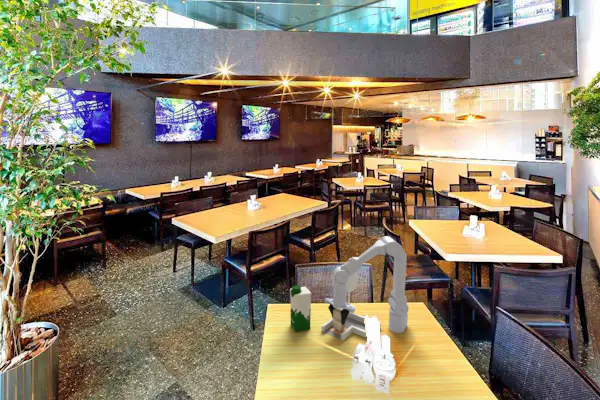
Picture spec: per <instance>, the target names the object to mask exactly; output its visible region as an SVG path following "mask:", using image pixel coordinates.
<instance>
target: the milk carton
mask: <svg viewBox="0 0 600 400" xmlns="http://www.w3.org/2000/svg"><path fill="white" fill-rule="evenodd" d="M289 295H290V298H289V299H290V325H291V327H292V329H293V330H294V332H295V331H296V332H295V333H299V332H303V331H307V330H311V316H312V315H311V310H312V309H311V307H312V306H311V305H312V304H311V303H312V302H311V301H312V292H311V291H310V290H309V289H308V288H307V286H301V285H293V286H291V288H290V289H289Z"/></svg>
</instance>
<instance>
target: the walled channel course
mask: <svg viewBox="0 0 600 400" xmlns="http://www.w3.org/2000/svg"><path fill="white" fill-rule="evenodd" d="M365 317H366V316H363V315H360V314H358V313H355V312H354V313H351V312H349V314H348V316H347V318H346V322H345V328H344V329H343V330H342V331H338V330H336V329H333V318H332V317H331V318H330V319H329V320H327V321H326V322H325V323H324V324H322V325H321V329H320V330H321V332H323V333H325V334H327V335H329V336H332V337H334V338H336V339H338V340H341V341H345V340H346V339H347V338H348V337H349V336H350V335H351V334H352V333H353V334H356V335H358V336H361V337H362V338H364V339H367V338H366V330H365V324H364V319H365ZM381 324H382V323H381V322H380V327H381Z"/></svg>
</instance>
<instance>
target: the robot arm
mask: <svg viewBox="0 0 600 400" xmlns="http://www.w3.org/2000/svg"><path fill="white" fill-rule="evenodd" d="M378 255H382V256H387V255H389V256H391V257H393V273H392V274H393V275H392V276H393V277H392V290H391V291H390V293H389V297H388V299H387V302H388V305H390V307H389V310H388V311H389V313H388V329H389V330H390V331H391V332H393V333H396V334H402V333H404V332H405V331H406V328H407V327H408V316H409V314H408V313H409V305H408V299H407V297H406V293H405V292H406V291H405V290H406V275H407V263H408V262H407V258H408V256H407V253H406V251H405V250H404V249H403V245H401V244H400V243H398V242H397V241H396V240H395V239H393V238H392V237H391V236H390V235H389V236H388V235H386V236H385V235H384V236H383V237H381V238H380V239H378V240H376V242H375V243H374V244H373V245H371V246H370V247H369V248H368V249H367V250H365V251H363V252H362V253H361V254H360V255H359V256H358V257H356V256H354V257H353V256H352V257H350V258H348V260H347V261H346V262H345V263H343V264H340V265H339V266H336V267H335V268H334V269H333V271H332V275H333V277H334V278H333V293H332V295H333V297H332V298H331V297H330V298H329V297H326V298H325V299H324V304H329V306H327V308H328V310H329V312H330V314H331V318H333V310H334V309H335V308H342V309H343V310H342V311H340V313H341V318H342V320H341V323H342V325H344V324H345V322H346V318H347V316H348V314H349V312H351V313H355V311H356V306H355V307H353V306H354V305H353V306H351V305H352V304H350V305H349V304H348V302H347V291H346V287H347V285H346V282H347V281H348V278H349V277H350V276H351V275H352V274H354V273H355V272H358V271H359V270H361V269H362V266H363V264H364V263H367V262H368V261H370V260H371V259H372V258H374V257H376V256H378Z"/></svg>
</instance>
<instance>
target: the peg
mask: <svg viewBox="0 0 600 400" xmlns="http://www.w3.org/2000/svg"><path fill="white" fill-rule="evenodd" d="M342 310H343V309H342V308H335V309H334V310H333V329H336V330H338V331H342V330H343V329H344V328H345V324H344V325H342V323H341V320H342V318H341V313H340V311H342Z"/></svg>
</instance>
